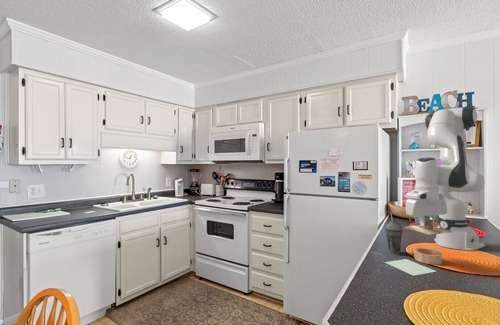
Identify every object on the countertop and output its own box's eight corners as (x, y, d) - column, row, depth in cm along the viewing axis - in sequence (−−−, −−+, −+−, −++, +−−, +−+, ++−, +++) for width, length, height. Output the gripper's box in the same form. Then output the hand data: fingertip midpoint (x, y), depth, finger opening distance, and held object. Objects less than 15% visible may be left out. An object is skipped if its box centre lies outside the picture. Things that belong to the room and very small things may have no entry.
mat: (406, 259, 115) (405, 259, 115) (436, 272, 101) (436, 271, 101) (384, 263, 111) (384, 262, 111) (413, 276, 98) (413, 275, 98)
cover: (424, 226, 121) (424, 216, 121) (451, 232, 109) (451, 221, 109) (404, 228, 117) (404, 217, 117) (430, 234, 106) (429, 223, 106)
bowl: (425, 255, 119) (425, 247, 120) (447, 263, 110) (447, 254, 110) (409, 258, 117) (409, 249, 117) (430, 266, 107) (430, 257, 107)
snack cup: (440, 229, 166) (440, 213, 166) (433, 232, 159) (433, 215, 159) (413, 225, 178) (413, 210, 178) (406, 227, 172) (406, 212, 172)
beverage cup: (405, 256, 119) (405, 213, 119) (388, 255, 120) (387, 213, 120) (399, 251, 126) (399, 210, 126) (383, 250, 127) (383, 210, 127)
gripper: (437, 192, 119) (437, 222, 119) (402, 194, 114) (403, 225, 113) (451, 194, 113) (451, 225, 113) (415, 195, 108) (416, 228, 107)
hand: (427, 225), depth 113 cm, fingers closed on cover, 3 cm apart
